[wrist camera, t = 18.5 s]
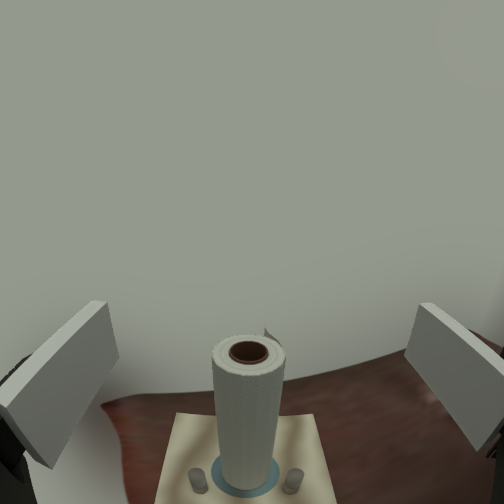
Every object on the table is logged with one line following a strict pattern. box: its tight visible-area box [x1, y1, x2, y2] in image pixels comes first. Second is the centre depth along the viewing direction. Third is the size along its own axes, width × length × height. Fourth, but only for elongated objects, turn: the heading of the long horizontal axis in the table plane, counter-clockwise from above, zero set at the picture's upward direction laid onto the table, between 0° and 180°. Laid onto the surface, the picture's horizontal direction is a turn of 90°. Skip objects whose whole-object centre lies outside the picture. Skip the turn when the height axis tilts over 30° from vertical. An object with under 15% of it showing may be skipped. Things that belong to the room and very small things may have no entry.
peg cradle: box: [155, 413, 337, 504], centre depth 26 cm, size 22×22×6 cm
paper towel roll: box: [212, 325, 286, 490], centre depth 24 cm, size 7×6×21 cm
